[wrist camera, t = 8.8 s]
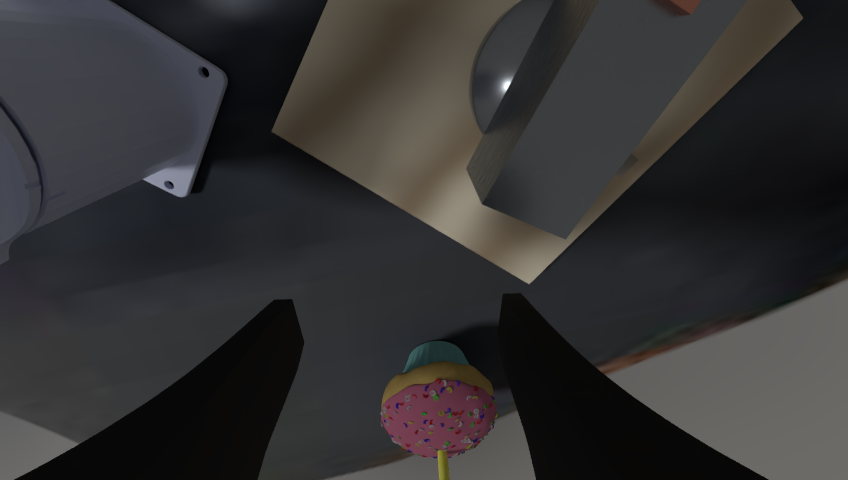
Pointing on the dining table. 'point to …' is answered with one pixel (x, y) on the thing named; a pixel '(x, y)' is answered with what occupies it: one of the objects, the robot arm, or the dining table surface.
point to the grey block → (577, 96)
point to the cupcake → (438, 404)
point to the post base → (465, 112)
